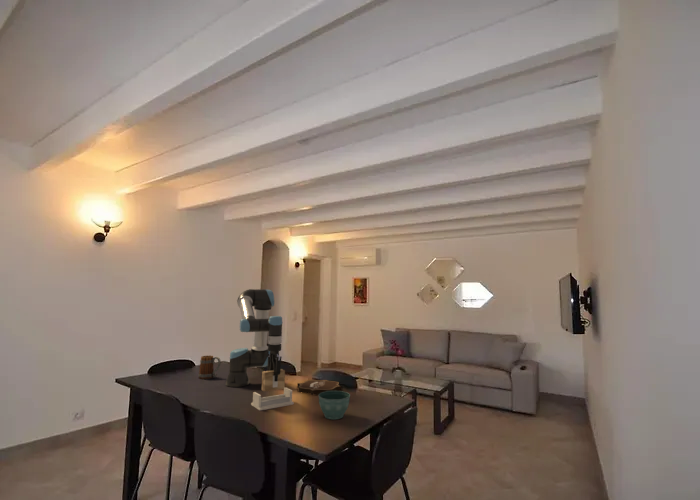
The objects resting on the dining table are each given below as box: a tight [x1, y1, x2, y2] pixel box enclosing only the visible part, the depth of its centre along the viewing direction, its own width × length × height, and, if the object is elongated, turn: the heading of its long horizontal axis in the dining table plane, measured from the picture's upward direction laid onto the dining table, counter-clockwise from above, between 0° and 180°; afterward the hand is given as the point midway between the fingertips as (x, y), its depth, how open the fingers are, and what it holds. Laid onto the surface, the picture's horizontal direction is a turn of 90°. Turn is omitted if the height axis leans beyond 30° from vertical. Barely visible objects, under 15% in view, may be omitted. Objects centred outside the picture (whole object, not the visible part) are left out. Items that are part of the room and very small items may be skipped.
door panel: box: [261, 368, 286, 392], centre depth 209 cm, size 4×12×10 cm, turn 127°
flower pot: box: [317, 390, 351, 421], centre depth 190 cm, size 16×16×11 cm
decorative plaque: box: [296, 379, 343, 396], centre depth 244 cm, size 30×3×30 cm
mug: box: [197, 355, 221, 380], centre depth 271 cm, size 16×11×15 cm
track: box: [250, 386, 295, 411], centre depth 208 cm, size 12×20×7 cm, turn 127°
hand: (273, 386), depth 209 cm, fingers closed on door panel, 4 cm apart
